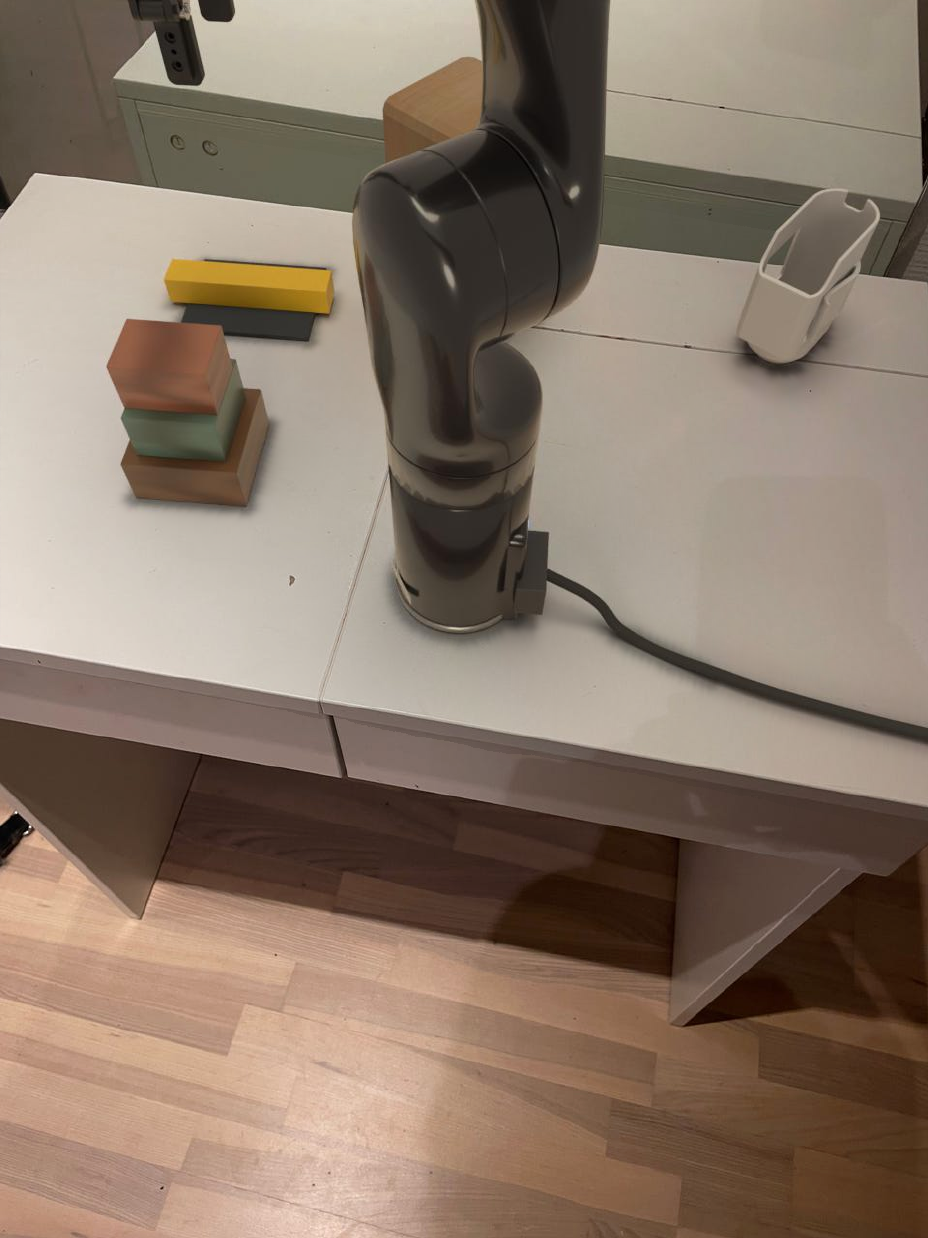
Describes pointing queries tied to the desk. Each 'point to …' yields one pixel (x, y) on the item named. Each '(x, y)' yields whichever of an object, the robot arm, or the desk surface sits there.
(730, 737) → the desk surface
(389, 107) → the wooden block
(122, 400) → the toy tower
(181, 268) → the yellow bar
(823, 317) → the cable organizer
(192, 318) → the rubber mat
